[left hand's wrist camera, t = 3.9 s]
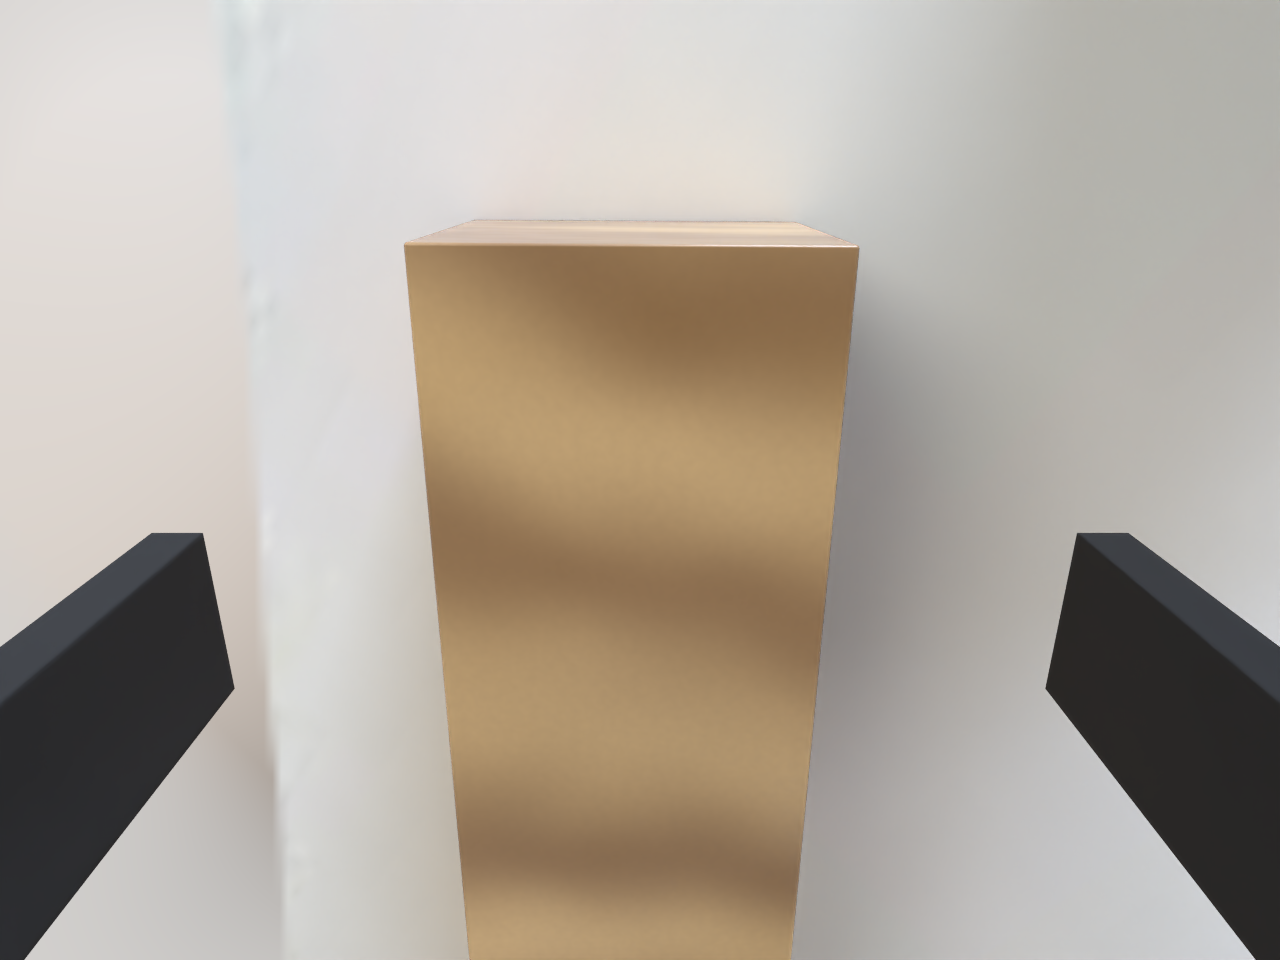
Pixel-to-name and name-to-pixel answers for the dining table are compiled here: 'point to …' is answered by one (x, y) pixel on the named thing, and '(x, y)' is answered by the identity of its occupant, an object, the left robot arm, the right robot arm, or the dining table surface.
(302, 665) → the dining table surface
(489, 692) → the brown striped wooden beam
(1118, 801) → the dining table surface
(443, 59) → the dining table surface
